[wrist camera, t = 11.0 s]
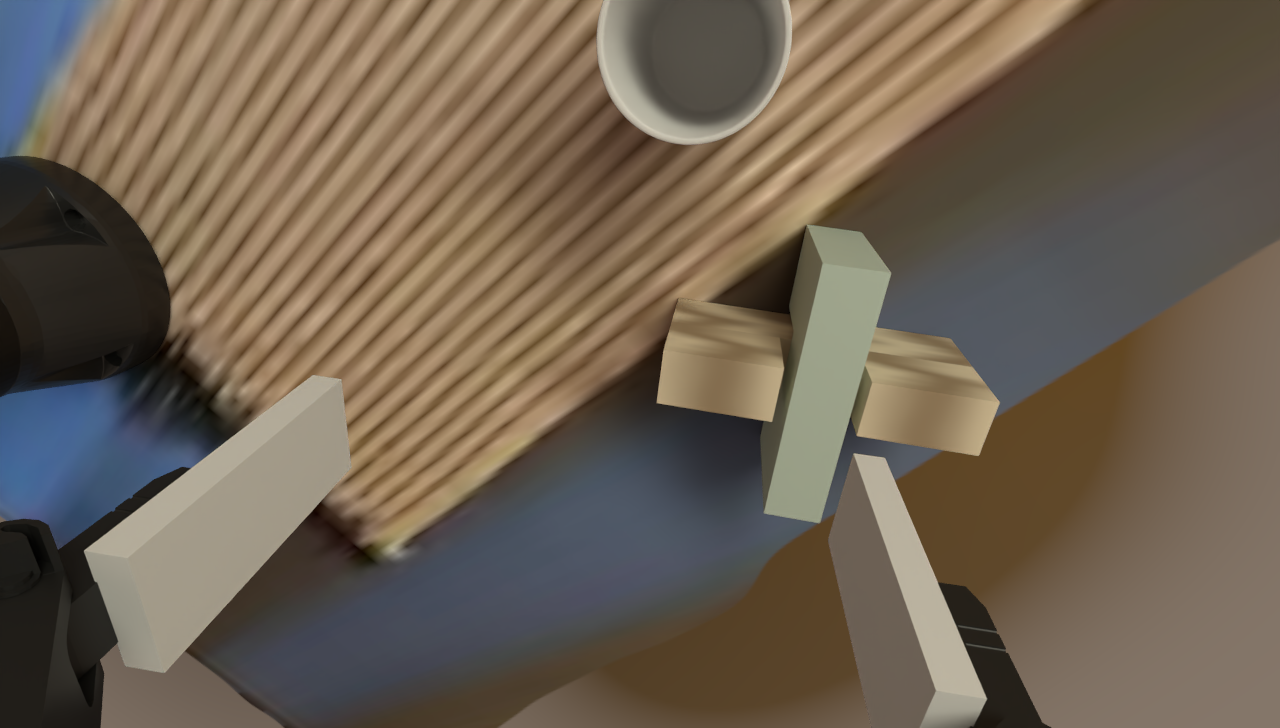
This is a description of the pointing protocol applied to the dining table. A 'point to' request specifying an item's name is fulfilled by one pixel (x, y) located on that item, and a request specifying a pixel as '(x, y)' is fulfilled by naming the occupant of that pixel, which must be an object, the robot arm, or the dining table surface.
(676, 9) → the mug
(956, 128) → the dining table surface
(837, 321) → the grey-green block
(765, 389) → the u-shaped wooden block
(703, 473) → the dining table surface
